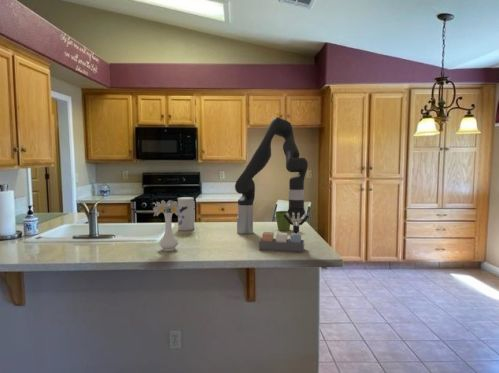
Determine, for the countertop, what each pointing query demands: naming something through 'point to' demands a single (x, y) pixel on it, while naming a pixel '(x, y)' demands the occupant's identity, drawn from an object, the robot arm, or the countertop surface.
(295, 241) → the slate key
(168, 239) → the flower vase
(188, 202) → the container
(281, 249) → the key panel
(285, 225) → the plant pot
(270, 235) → the terracotta key
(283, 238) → the white key
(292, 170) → the robot arm
